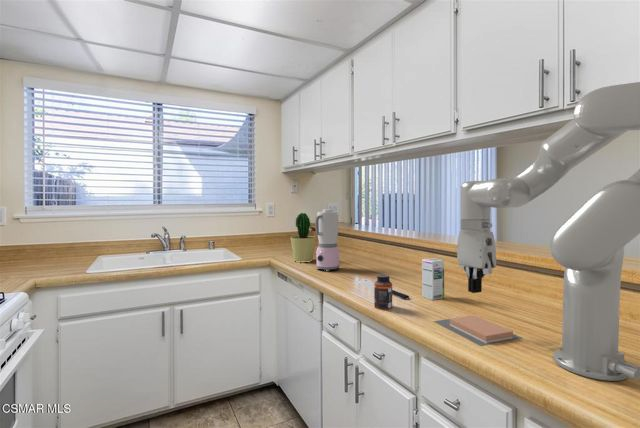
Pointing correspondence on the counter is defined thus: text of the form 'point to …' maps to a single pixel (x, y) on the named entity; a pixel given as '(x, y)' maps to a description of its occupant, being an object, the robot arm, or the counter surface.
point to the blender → (327, 240)
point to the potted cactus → (303, 240)
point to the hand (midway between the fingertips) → (474, 291)
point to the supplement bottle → (383, 293)
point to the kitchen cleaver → (370, 285)
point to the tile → (481, 328)
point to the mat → (447, 325)
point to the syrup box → (433, 278)
